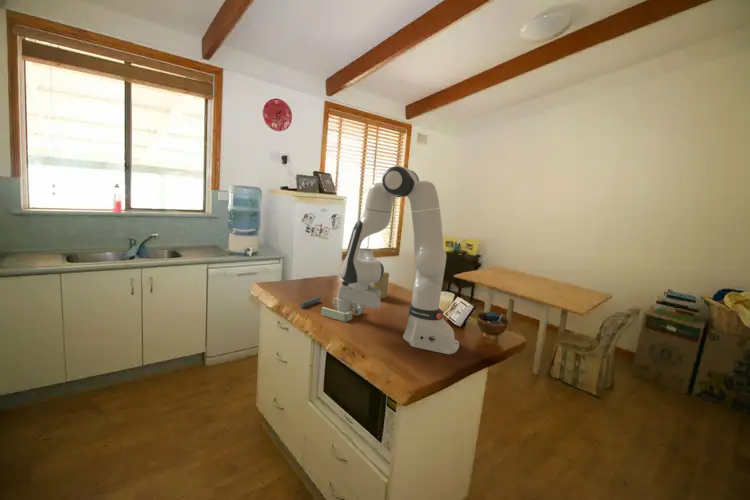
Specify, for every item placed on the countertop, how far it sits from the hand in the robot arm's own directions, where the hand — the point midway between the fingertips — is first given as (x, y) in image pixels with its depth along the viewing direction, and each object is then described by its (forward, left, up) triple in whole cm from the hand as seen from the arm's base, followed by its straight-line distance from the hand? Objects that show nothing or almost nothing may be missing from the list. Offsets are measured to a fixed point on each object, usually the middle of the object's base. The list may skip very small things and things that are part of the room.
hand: (357, 313), depth 158 cm
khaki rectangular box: (+14, -39, -2) cm, 42 cm away
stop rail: (+26, 0, -2) cm, 26 cm away
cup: (+8, 0, -2) cm, 8 cm away
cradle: (+8, 0, -2) cm, 8 cm away
